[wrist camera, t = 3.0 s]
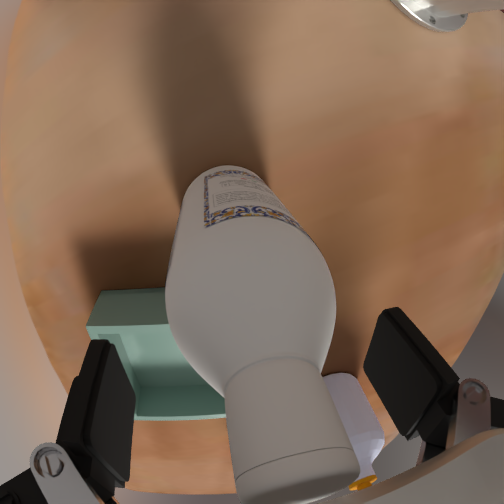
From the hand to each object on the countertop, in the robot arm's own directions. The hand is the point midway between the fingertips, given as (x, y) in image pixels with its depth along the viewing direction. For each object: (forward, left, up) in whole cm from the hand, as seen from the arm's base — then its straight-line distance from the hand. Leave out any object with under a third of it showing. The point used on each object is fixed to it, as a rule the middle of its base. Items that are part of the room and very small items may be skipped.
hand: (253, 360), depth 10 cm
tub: (+13, -5, -15) cm, 20 cm away
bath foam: (0, 0, -15) cm, 15 cm away
